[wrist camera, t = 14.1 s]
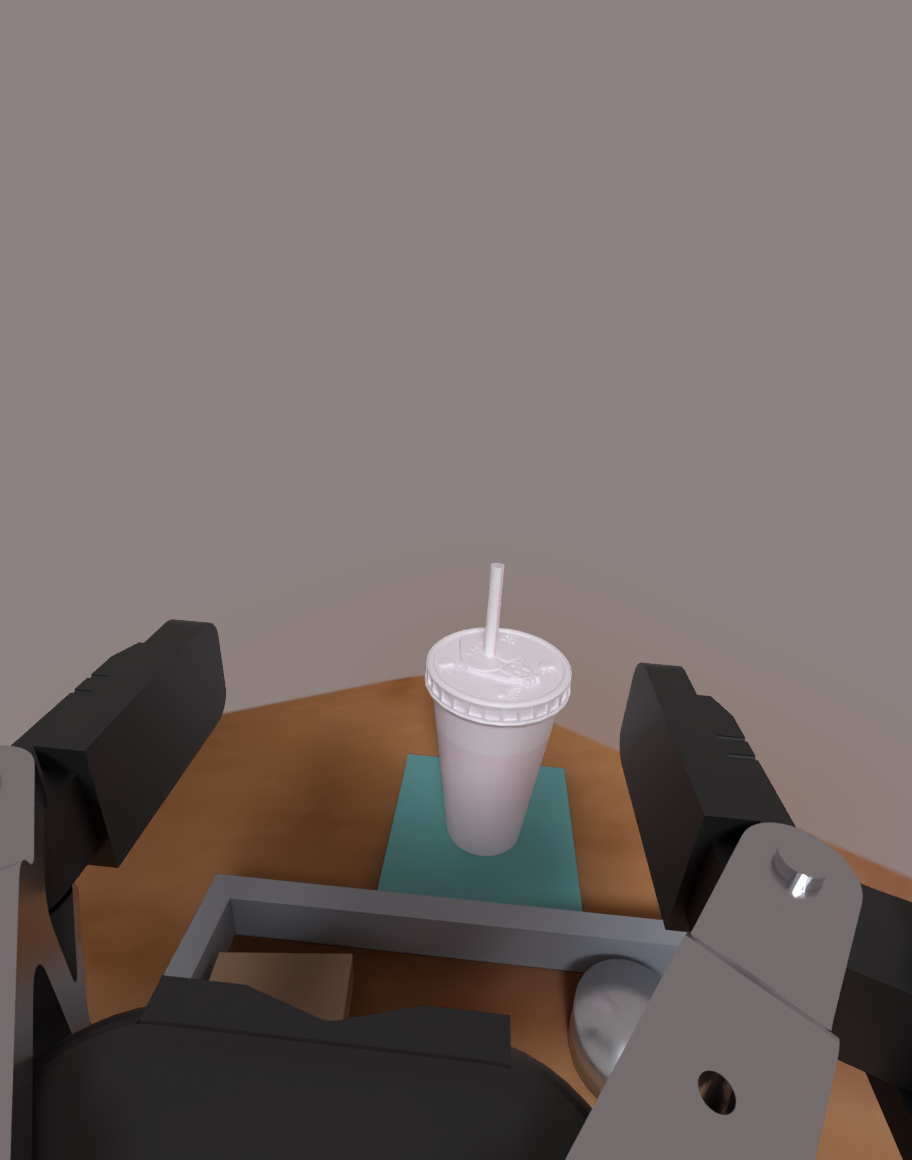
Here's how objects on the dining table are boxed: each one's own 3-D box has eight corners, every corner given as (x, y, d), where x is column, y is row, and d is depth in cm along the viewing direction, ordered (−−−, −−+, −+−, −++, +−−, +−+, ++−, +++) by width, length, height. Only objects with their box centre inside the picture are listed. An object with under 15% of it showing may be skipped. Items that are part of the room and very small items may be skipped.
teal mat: (376, 903, 25) (376, 894, 25) (408, 762, 33) (408, 754, 33) (581, 925, 25) (583, 916, 24) (562, 776, 33) (563, 768, 33)
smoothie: (482, 761, 33) (502, 532, 27) (573, 830, 29) (620, 576, 23) (393, 819, 29) (395, 563, 23) (485, 909, 25) (515, 624, 19)
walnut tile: (182, 1114, 19) (172, 1081, 18) (225, 985, 22) (219, 952, 21) (336, 1114, 19) (333, 1081, 18) (354, 986, 22) (352, 953, 22)
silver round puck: (575, 1114, 19) (582, 1080, 18) (562, 986, 23) (568, 954, 22) (697, 1126, 19) (710, 1093, 18) (664, 996, 22) (674, 964, 22)
